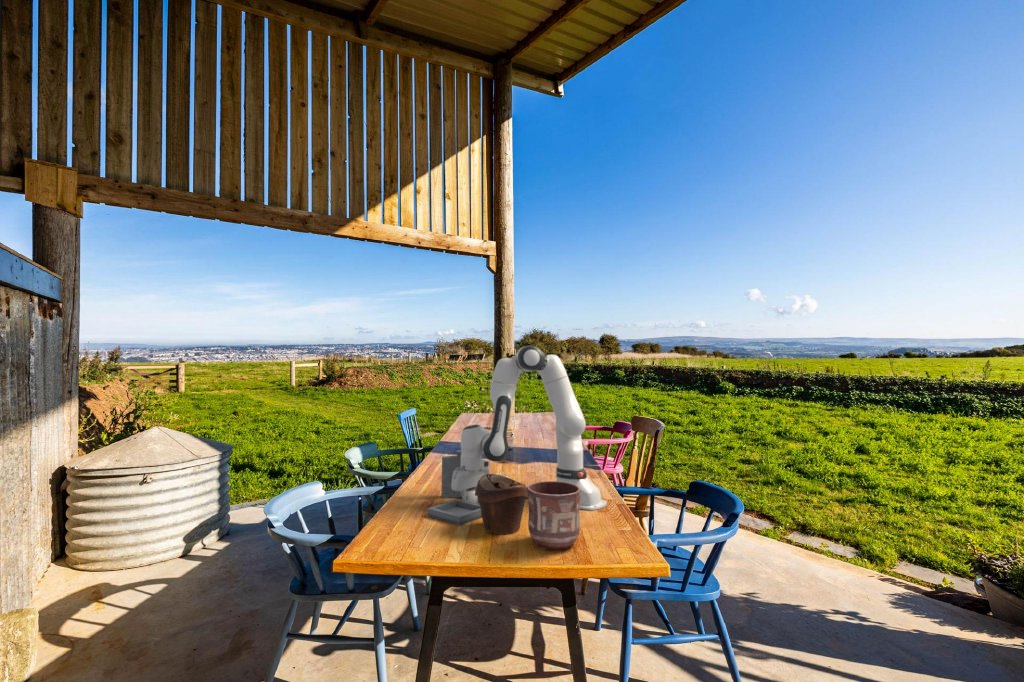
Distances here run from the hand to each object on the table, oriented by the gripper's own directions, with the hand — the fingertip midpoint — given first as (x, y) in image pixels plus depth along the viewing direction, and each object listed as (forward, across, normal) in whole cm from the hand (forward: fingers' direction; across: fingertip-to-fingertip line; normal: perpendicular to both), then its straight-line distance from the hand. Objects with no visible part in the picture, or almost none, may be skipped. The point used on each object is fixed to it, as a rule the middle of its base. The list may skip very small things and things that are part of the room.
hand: (470, 498), depth 197 cm
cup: (+3, 0, 0) cm, 3 cm away
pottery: (+3, -16, -51) cm, 54 cm away
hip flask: (+3, +6, +12) cm, 14 cm away
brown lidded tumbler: (+3, -15, -29) cm, 33 cm away
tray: (+3, -14, -6) cm, 16 cm away
